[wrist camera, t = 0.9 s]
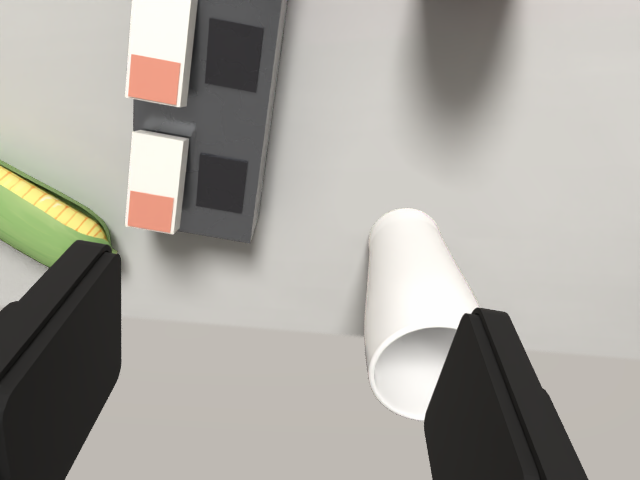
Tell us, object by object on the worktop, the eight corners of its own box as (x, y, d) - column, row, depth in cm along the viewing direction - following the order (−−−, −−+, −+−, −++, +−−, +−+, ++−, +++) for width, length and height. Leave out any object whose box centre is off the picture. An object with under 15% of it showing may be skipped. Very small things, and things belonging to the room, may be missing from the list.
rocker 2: (189, 138, 33) (183, 141, 31) (179, 228, 34) (173, 234, 33) (140, 129, 32) (131, 132, 31) (133, 220, 34) (124, 226, 33)
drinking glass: (458, 261, 41) (513, 407, 28) (373, 284, 42) (387, 435, 29) (436, 183, 38) (487, 306, 25) (346, 211, 39) (349, 341, 26)
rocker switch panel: (312, -180, 28) (307, -202, 24) (258, 217, 40) (249, 246, 36) (160, -212, 28) (130, -240, 24) (149, 198, 39) (128, 226, 35)
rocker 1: (198, -2, 29) (191, -7, 27) (186, 106, 31) (179, 107, 29) (142, -13, 29) (132, -19, 27) (134, 96, 30) (124, 97, 29)
